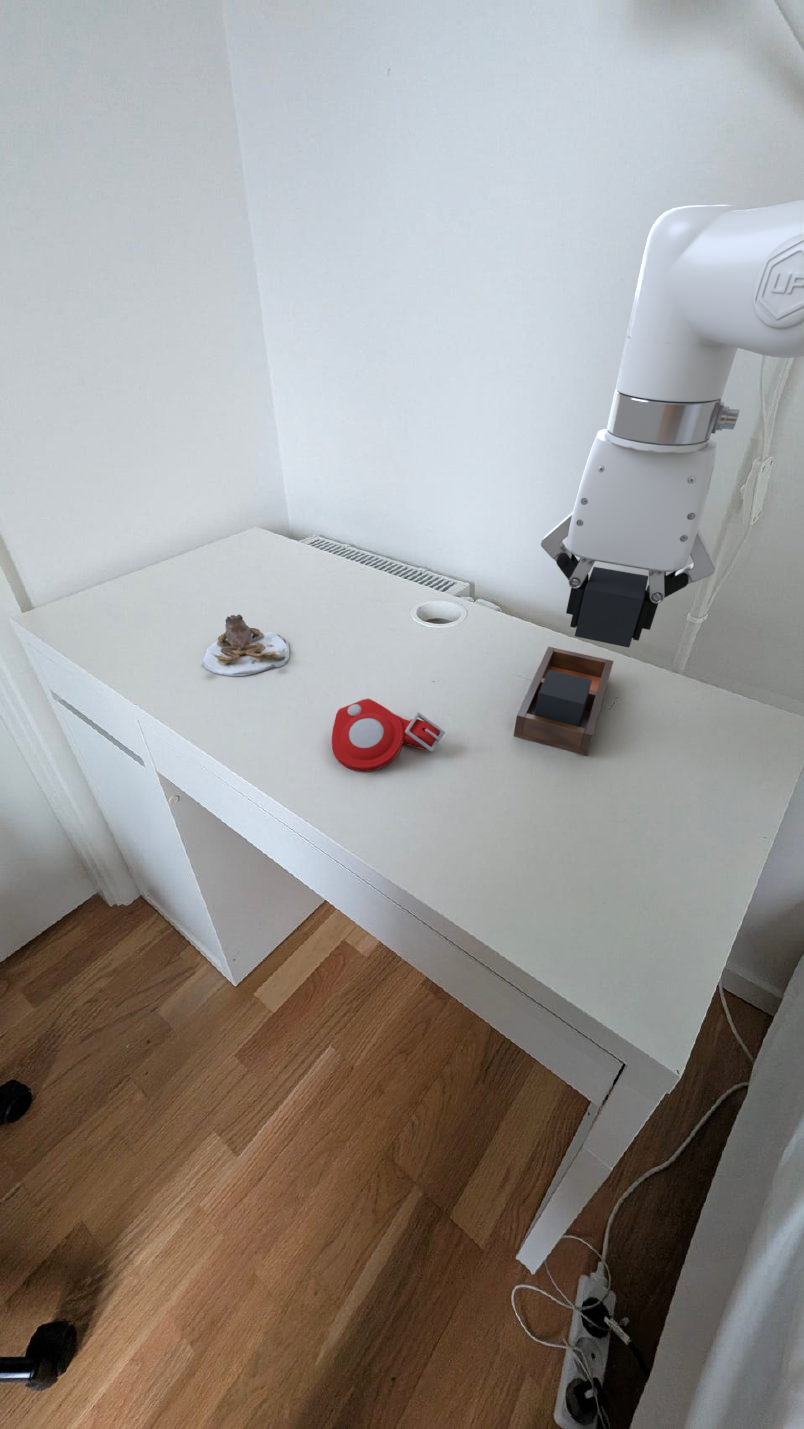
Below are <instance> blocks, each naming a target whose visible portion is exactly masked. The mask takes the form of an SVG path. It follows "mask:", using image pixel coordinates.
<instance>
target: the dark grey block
mask: <svg viewBox="0 0 804 1429" xmlns="http://www.w3.org/2000/svg"><path fill="white" fill-rule="evenodd" d="M648 582H649V575H646V574H641V573H640V574H639V573H638V574H637V573H634V572H628V571H622V570H616V569H610V568H604V567H599V566H592V570H591V573H590V575H589V579H588V583H587V586H586V588H585V592H584V597H583V601H582V606H581V610H580V614H579V619H578V623H577V627H576V628H575V632H574V637H576V638H581V639H586V640H589V641H595V642H600V643H604V644H609V645H614V646H618V647H623V648H624V647H625V648H630V647H631V643H632V640H633V638H632V637H633V634H634V630H635V627H636V624H637V620H638V617H639V614H640V610H641V607H642V604H643V600H644V596H645V591H646V590H647V587H648Z"/></svg>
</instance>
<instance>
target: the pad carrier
mask: <svg viewBox="0 0 804 1429" xmlns="http://www.w3.org/2000/svg"><path fill="white" fill-rule="evenodd" d="M614 662H615V661H614V660H611V659H607V658H602V657H598V656H593V655H589V654H584V653H579V652H575V651H572V650H571V651H570V650H565V649H563V648H562V649H561V648H557V647H553V646H547V647H546V650H545V653H544V655H543V656H542V659H541V662H540V664H539V665H538V668H537V670H536V672H535V675H534V676H533V679H532V681H531V683H530V685H529V687H528V690H527V692H526V695H525V696H524V698H523V701H522V703H521V705H520V707H519V710H518V712H517V714H516V718H515V724H514V729H513V730H514V731H513V737H516V738H520V739H522V740H527V741H530V742H534V743H537V744H541V745H545V746H549V747H553V748H556V749H560V750H563V751H567V752H570V753H574V754H577V755H581V756H585V757H587V756H588V755H589V751H590V747H591V744H592V740H593V736H594V734H595V729H596V726H597V722H598V718H599V716H600V711H601V707H602V704H603V701H604V697H605V694H606V690H607V687H608V684H609V679H610V675H611V672H612V668H613V665H614ZM548 670H551V671H556V672H560V673H564V674H569V675H573V676H577V677H581V678H586V679H590V680H592V682H591V686H590V690H589V694H588V698H587V702H586V706H585V709H584V713H583V717H582V720H581V723H580V726H579V727H578V726H574V725H570V724H566V723H563V722H559V721H555V720H551V719H547V718H543V717H540V716H536V715H535V710H536V705H537V699H538V694H539V691H540V689H541V687H542V684H543V682H544V680H545V677H546V675H547V673H548Z"/></svg>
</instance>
